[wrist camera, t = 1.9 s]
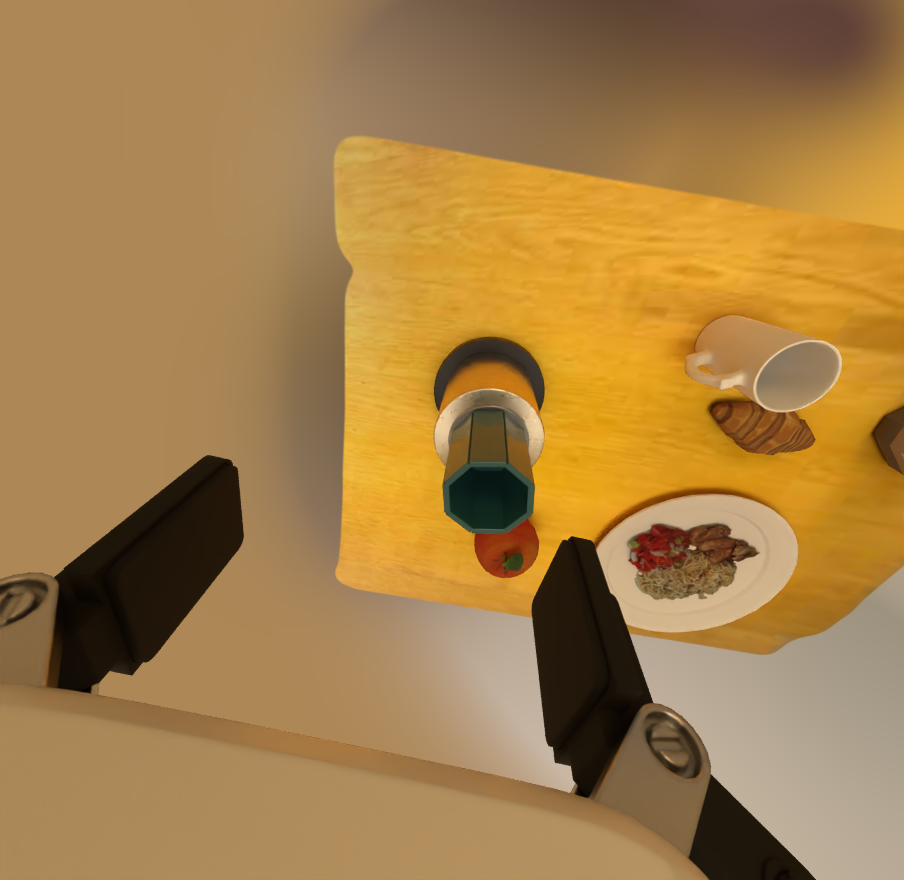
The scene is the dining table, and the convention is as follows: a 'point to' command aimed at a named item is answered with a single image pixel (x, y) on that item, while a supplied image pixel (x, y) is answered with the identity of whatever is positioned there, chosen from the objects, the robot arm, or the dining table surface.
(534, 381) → the towel holder
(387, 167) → the dining table surface
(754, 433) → the croissant
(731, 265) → the dining table surface
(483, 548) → the fruit
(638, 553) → the plated food
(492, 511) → the teal cup
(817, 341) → the mug
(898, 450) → the liquor
